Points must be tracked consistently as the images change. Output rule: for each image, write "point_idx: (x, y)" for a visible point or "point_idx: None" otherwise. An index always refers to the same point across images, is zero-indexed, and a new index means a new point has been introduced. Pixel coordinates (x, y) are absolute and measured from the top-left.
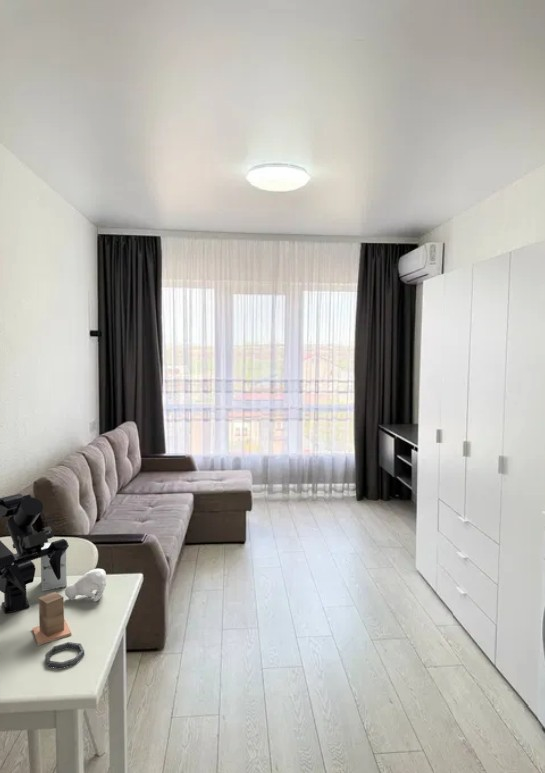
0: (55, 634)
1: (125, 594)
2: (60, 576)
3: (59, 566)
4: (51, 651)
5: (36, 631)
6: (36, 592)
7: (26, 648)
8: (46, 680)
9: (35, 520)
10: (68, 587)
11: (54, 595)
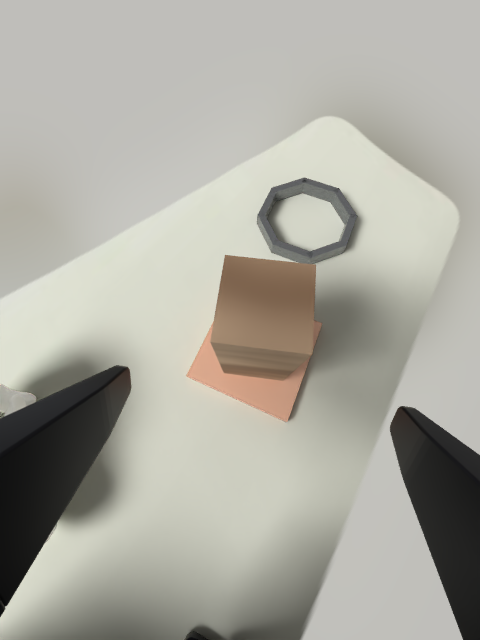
0: None
1: None
2: (110, 368)
3: (22, 414)
4: (326, 246)
5: (291, 387)
6: None
7: (351, 339)
8: (377, 192)
9: None
10: None
11: (241, 304)
